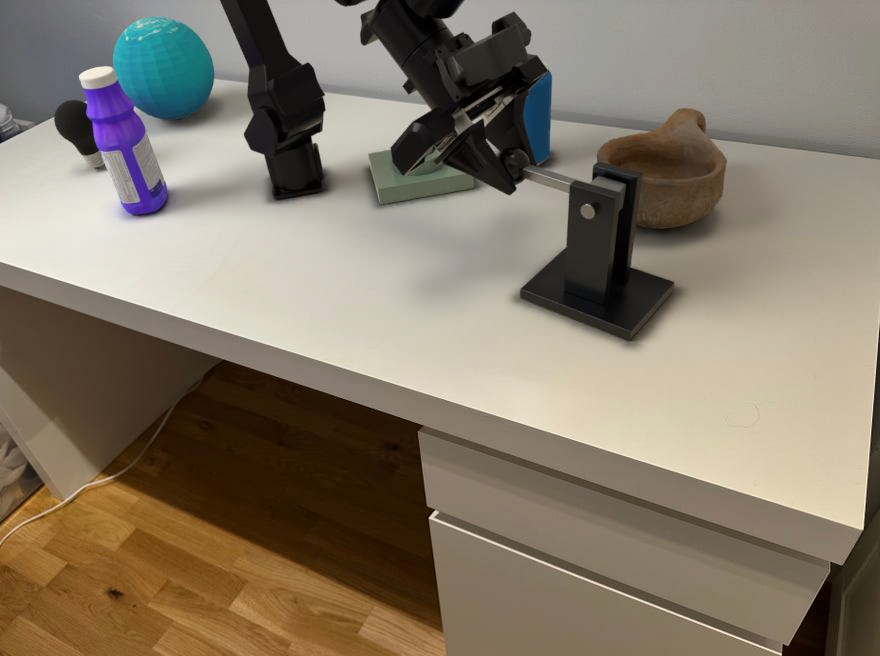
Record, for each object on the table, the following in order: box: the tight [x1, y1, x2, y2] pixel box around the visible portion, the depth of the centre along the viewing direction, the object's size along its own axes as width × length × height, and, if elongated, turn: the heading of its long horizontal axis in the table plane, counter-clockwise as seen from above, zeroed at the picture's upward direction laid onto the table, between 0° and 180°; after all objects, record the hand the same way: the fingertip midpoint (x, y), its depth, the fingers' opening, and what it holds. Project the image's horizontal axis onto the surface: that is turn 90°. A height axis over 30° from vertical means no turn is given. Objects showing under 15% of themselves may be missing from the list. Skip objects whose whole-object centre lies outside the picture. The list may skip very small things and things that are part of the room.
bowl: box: [596, 107, 728, 229], centre depth 78 cm, size 18×14×10 cm
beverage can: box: [523, 59, 553, 167], centre depth 88 cm, size 6×6×12 cm
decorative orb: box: [112, 15, 215, 121], centre depth 110 cm, size 15×15×15 cm
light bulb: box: [53, 99, 104, 170], centre depth 100 cm, size 6×6×10 cm
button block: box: [367, 146, 475, 206], centre depth 90 cm, size 12×10×4 cm
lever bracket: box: [519, 161, 675, 342], centre depth 66 cm, size 12×9×13 cm
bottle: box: [78, 65, 168, 215], centre depth 88 cm, size 7×6×17 cm
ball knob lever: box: [496, 147, 626, 210], centre depth 65 cm, size 13×4×4 cm, turn 50°
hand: (524, 184), depth 68 cm, fingers closed on ball knob lever, 3 cm apart
